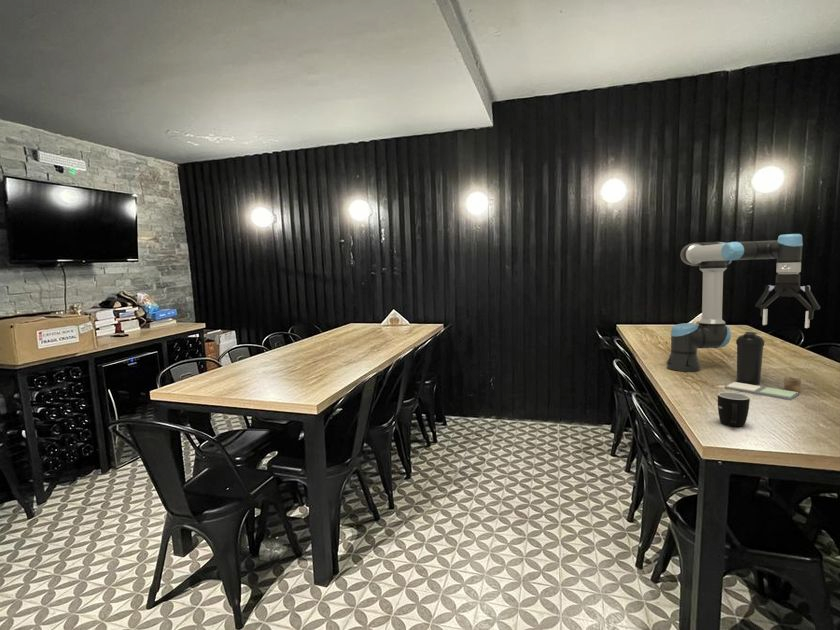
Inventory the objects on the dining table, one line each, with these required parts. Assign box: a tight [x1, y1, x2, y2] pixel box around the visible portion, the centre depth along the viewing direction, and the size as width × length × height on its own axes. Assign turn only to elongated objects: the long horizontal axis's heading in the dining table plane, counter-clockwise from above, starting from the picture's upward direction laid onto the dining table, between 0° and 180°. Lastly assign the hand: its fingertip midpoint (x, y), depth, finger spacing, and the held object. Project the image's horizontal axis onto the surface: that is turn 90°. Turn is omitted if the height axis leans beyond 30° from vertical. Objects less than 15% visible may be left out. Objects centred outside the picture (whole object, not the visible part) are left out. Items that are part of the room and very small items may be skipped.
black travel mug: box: [735, 331, 765, 386], centre depth 199 cm, size 10×10×23 cm
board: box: [724, 381, 800, 401], centre depth 187 cm, size 23×11×1 cm, turn 36°
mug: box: [717, 391, 751, 428], centre depth 151 cm, size 12×9×10 cm
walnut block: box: [783, 376, 802, 394], centre depth 187 cm, size 5×5×5 cm
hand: (785, 326), depth 179 cm, fingers open, 13 cm apart
